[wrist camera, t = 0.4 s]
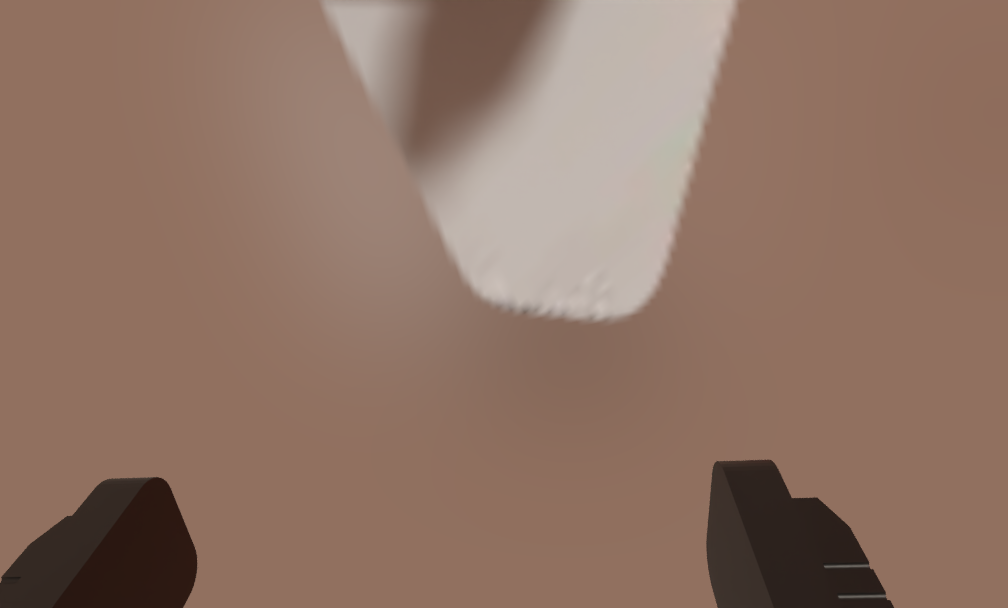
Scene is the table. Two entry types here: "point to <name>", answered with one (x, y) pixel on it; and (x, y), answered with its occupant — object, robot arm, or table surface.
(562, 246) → the table surface
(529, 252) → the table surface
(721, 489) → the robot arm
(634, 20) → the table surface
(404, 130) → the table surface
